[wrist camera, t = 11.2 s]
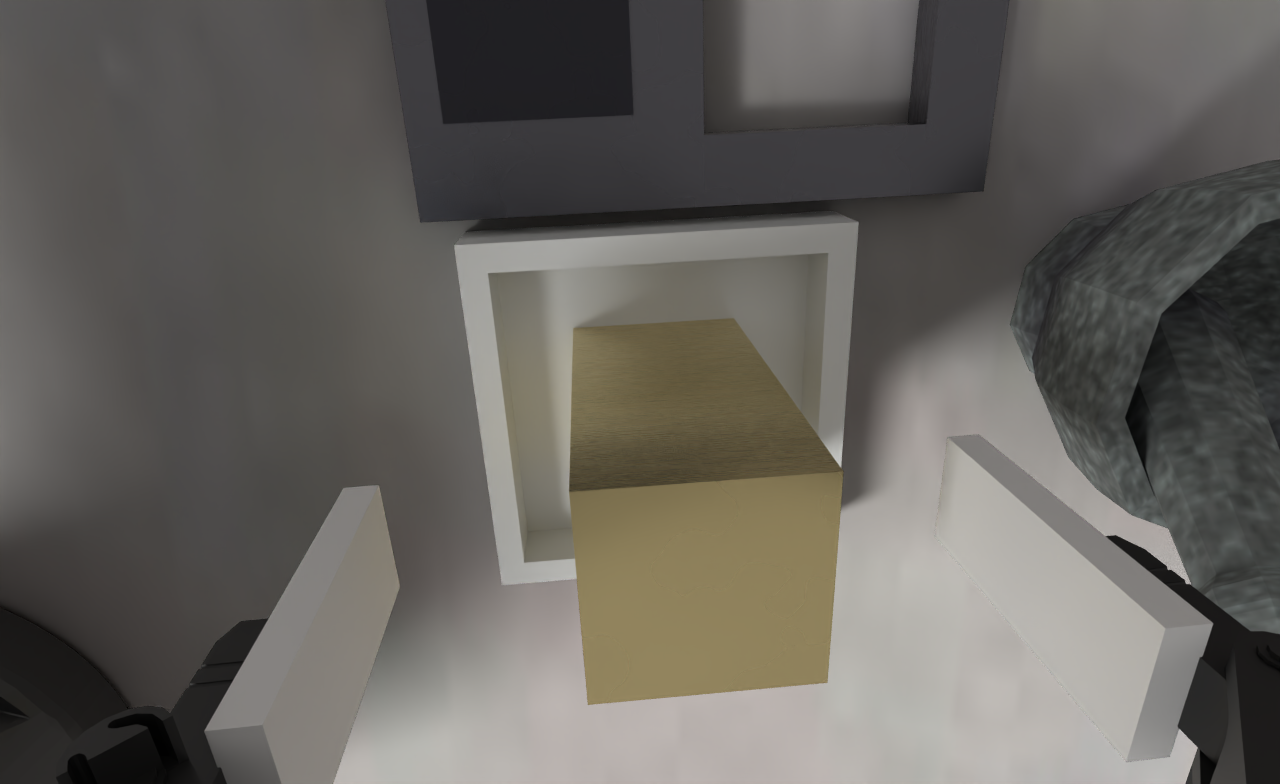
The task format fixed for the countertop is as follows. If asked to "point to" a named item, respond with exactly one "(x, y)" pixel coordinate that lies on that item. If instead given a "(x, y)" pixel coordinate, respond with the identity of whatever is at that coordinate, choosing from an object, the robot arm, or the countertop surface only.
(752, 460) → the brass block
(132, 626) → the countertop surface
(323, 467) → the countertop surface
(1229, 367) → the mortar and pestle
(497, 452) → the white tray
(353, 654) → the robot arm
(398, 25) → the dark grey flat slab
